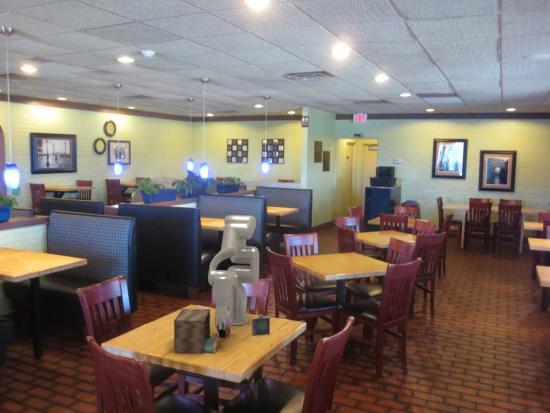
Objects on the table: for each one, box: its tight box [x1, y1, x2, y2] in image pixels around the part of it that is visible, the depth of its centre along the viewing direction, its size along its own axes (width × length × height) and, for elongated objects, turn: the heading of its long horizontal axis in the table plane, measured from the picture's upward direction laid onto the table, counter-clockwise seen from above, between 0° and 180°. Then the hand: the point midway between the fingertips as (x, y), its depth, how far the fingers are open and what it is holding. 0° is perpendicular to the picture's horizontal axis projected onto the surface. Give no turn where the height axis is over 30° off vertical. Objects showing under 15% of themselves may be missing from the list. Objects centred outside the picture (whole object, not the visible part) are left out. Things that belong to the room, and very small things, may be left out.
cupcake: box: [214, 315, 233, 337], centre depth 241 cm, size 9×9×10 cm
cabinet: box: [173, 308, 211, 354], centre depth 226 cm, size 14×17×16 cm
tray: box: [204, 332, 221, 354], centre depth 226 cm, size 18×17×3 cm
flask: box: [251, 313, 271, 336], centre depth 242 cm, size 9×3×11 cm, turn 102°
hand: (222, 337), depth 227 cm, fingers closed
